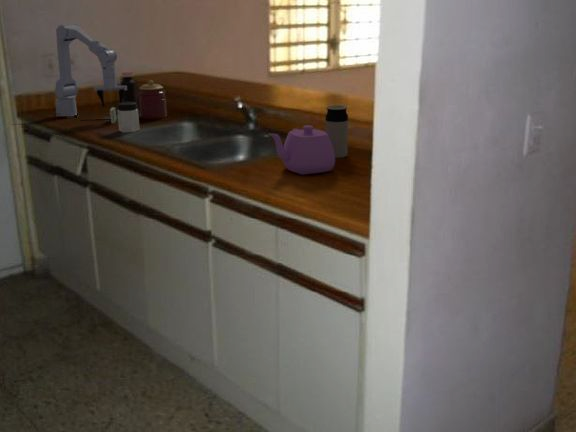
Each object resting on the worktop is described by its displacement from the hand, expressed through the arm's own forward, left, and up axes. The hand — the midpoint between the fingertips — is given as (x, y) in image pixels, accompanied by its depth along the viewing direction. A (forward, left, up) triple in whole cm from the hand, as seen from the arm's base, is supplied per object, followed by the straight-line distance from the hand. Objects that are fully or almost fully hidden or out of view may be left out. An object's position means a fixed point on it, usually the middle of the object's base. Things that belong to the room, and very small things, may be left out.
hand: (112, 106), depth 315 cm
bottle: (+6, +23, -7) cm, 24 cm away
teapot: (+74, -104, -7) cm, 128 cm away
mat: (-7, +13, -7) cm, 16 cm away
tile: (0, 0, -7) cm, 7 cm away
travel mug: (+88, -86, -7) cm, 123 cm away
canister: (+18, +8, -7) cm, 21 cm away
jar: (+9, -23, -7) cm, 26 cm away
